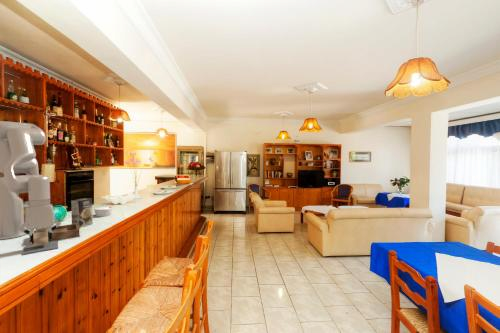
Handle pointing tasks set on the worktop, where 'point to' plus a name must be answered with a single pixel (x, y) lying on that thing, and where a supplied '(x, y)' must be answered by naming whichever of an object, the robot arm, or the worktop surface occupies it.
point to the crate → (64, 232)
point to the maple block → (40, 237)
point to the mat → (40, 248)
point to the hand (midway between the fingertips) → (41, 241)
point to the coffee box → (82, 212)
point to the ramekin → (103, 211)
